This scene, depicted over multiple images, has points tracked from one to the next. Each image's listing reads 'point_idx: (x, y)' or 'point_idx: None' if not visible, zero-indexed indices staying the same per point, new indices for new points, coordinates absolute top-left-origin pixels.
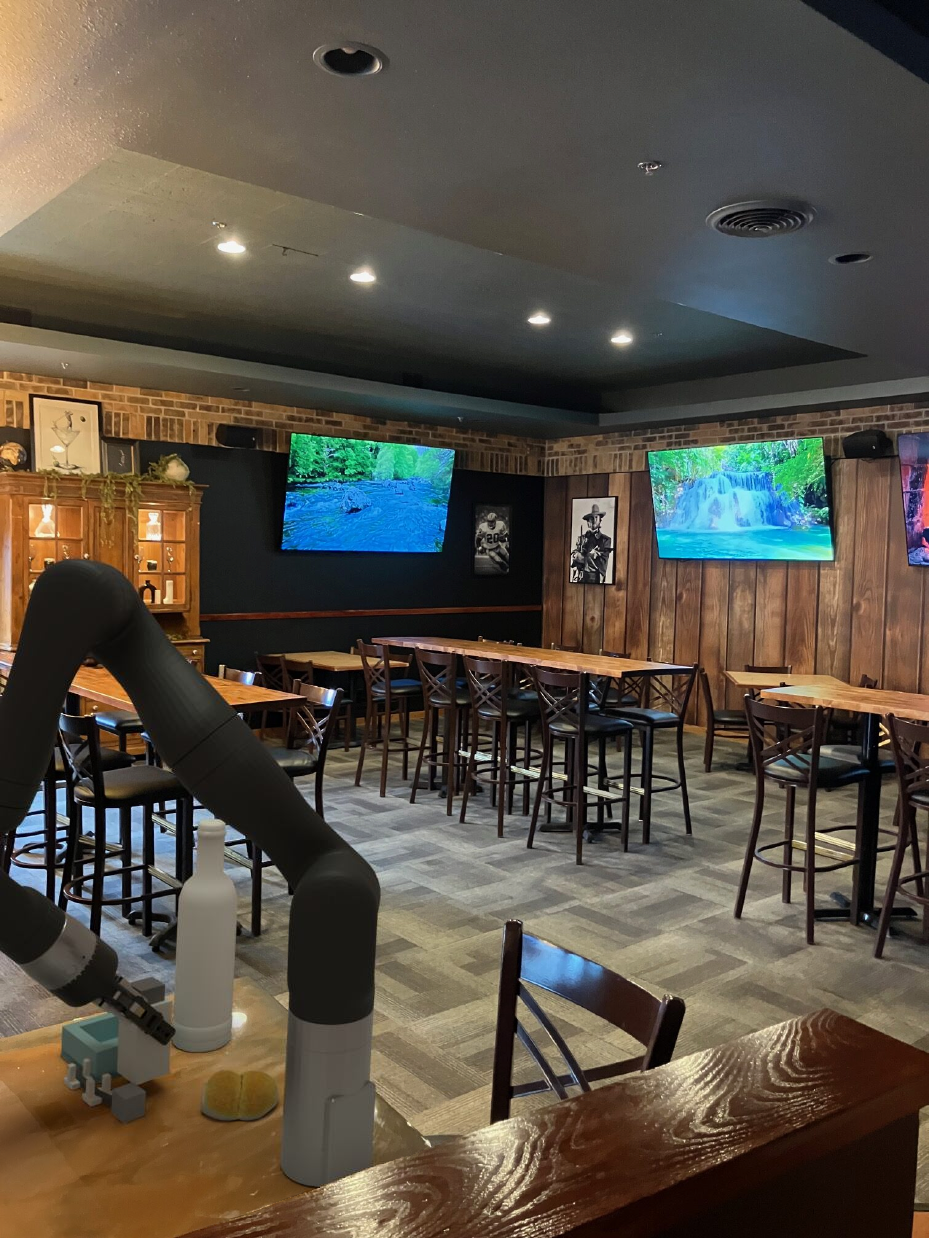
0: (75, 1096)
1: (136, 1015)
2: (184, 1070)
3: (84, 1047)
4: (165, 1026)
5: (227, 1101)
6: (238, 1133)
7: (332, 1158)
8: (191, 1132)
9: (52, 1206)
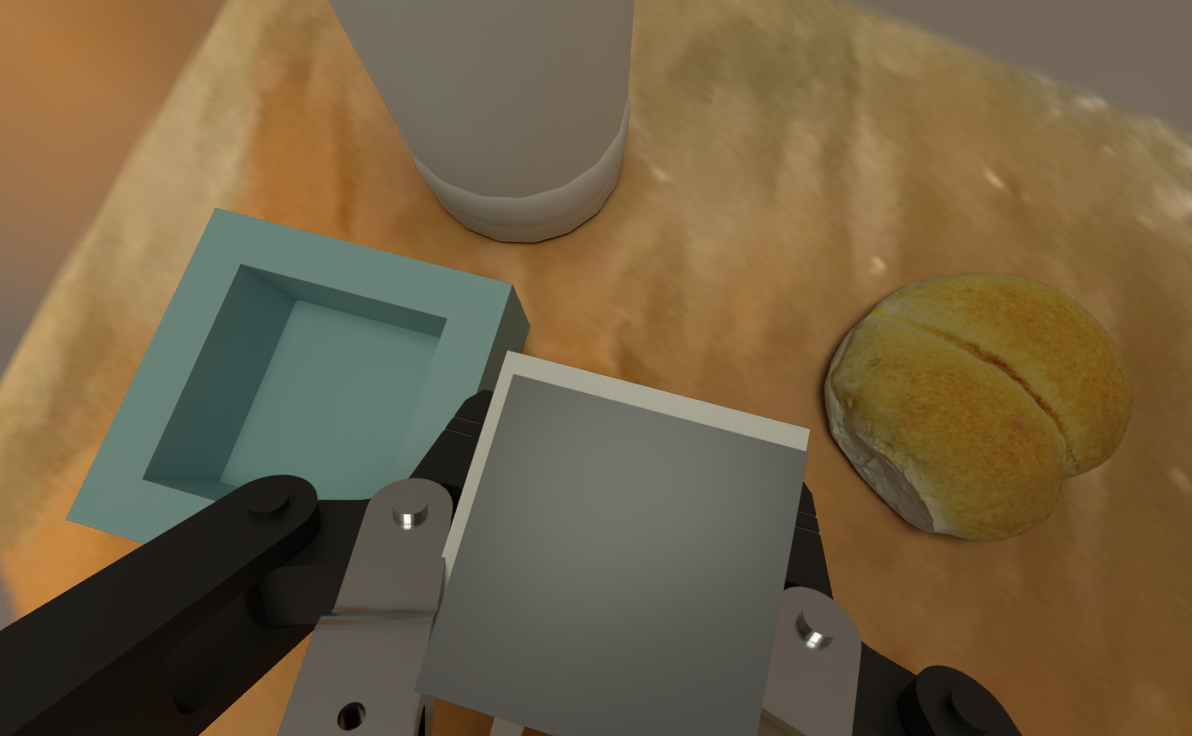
0: None
1: None
2: (633, 338)
3: None
4: (819, 548)
5: (1052, 504)
6: (1097, 547)
7: None
8: (974, 637)
9: None
